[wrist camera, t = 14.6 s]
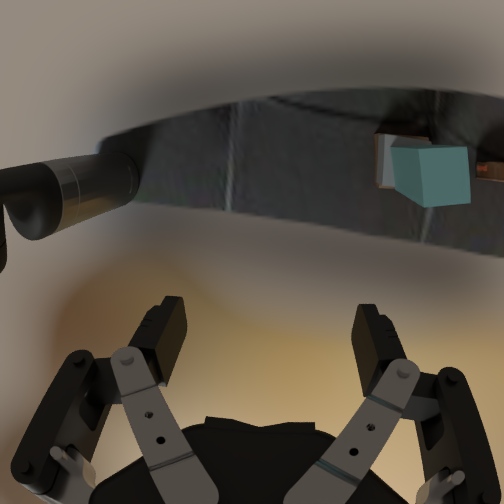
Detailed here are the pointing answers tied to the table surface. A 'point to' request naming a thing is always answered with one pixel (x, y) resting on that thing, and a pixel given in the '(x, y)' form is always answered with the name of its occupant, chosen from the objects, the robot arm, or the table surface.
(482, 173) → the tin
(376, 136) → the tower base
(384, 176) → the tower top
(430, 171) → the block
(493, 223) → the table surface
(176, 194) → the table surface
